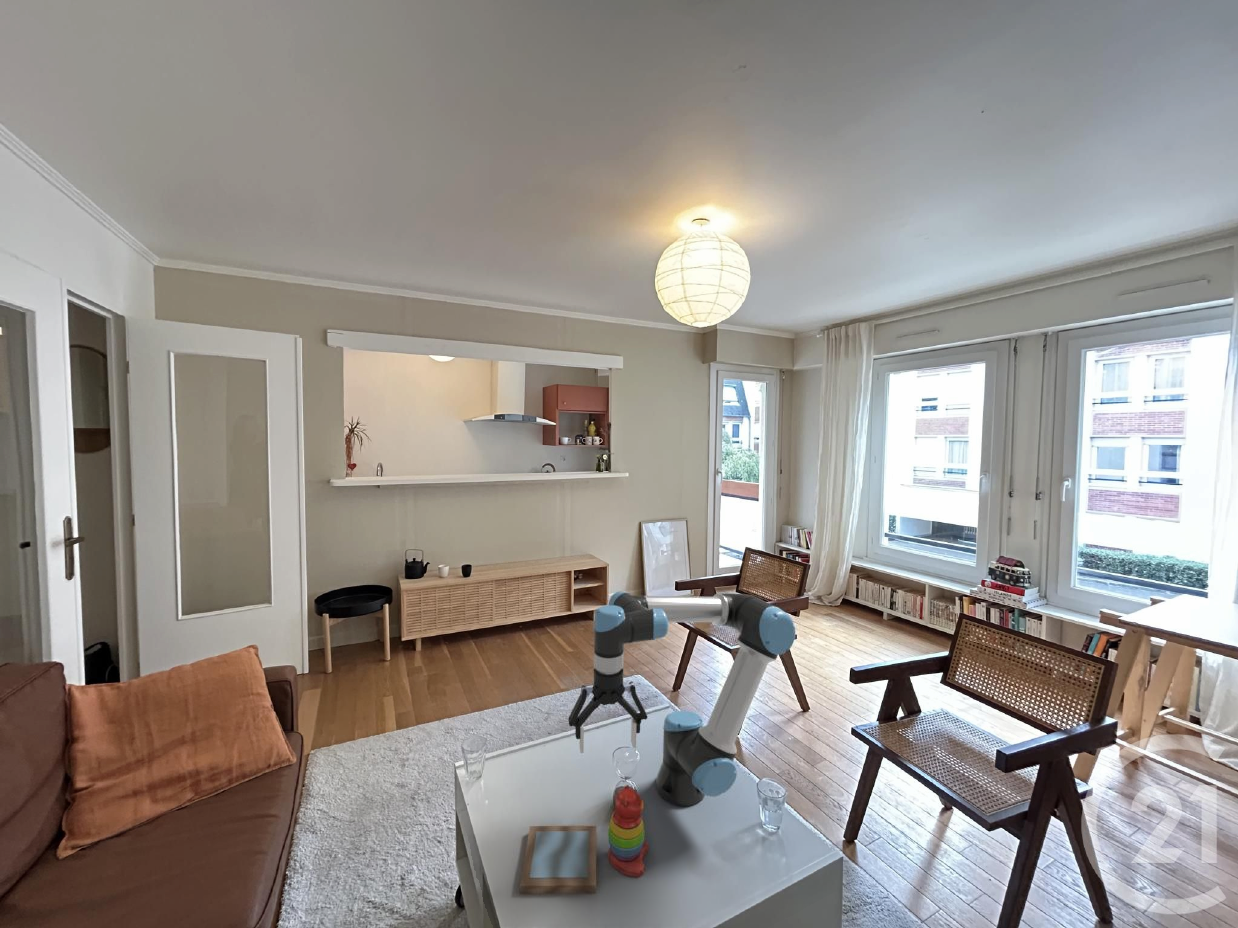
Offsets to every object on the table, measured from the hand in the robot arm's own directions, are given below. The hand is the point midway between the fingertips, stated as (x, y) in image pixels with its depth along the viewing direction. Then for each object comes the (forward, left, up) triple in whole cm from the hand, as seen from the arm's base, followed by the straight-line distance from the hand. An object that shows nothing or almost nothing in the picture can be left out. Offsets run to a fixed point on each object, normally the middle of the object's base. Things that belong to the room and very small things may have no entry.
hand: (607, 746), depth 131 cm
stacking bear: (-6, +2, -28) cm, 29 cm away
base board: (+11, +3, -28) cm, 31 cm away
